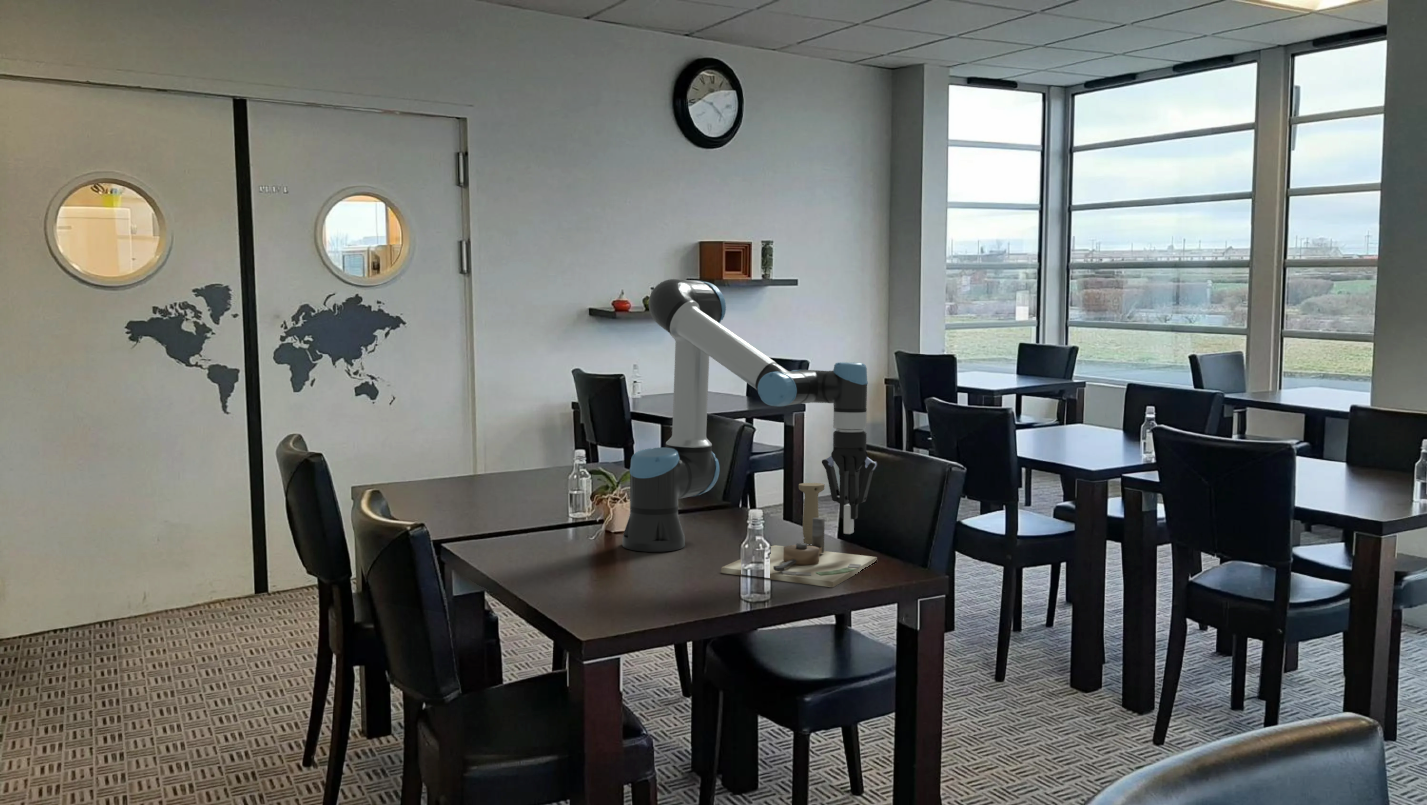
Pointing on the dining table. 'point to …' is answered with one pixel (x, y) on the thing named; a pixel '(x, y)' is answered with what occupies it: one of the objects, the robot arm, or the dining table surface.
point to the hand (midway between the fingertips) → (848, 532)
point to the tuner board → (812, 568)
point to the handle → (810, 507)
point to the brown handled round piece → (805, 548)
